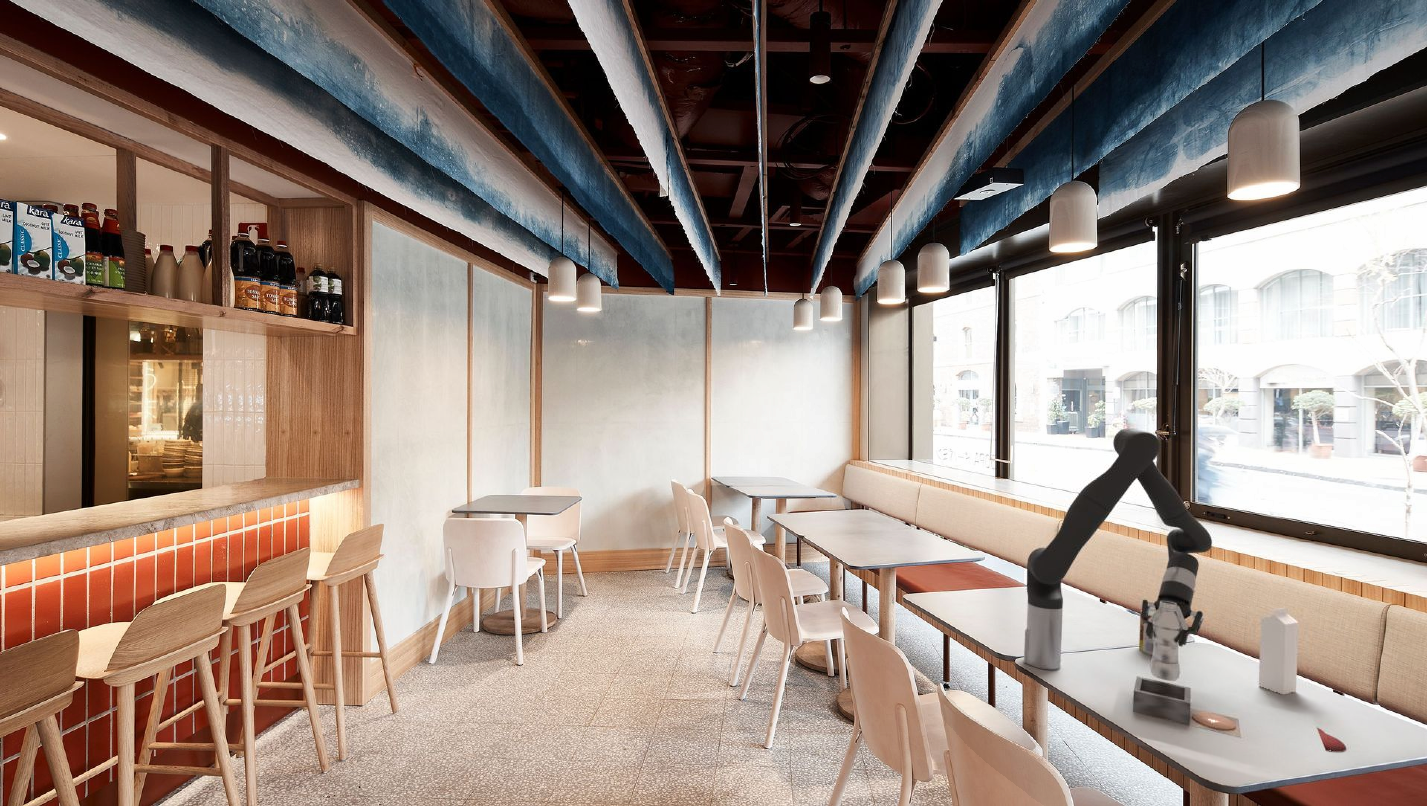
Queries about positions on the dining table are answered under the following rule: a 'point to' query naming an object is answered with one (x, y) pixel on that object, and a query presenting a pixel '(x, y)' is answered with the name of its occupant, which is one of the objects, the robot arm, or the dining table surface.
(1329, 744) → the red flat piece
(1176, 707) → the wooden organizer tray
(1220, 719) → the terracotta coaster
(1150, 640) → the canned food
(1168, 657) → the plastic bottle
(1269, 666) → the milk
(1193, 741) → the dining table surface
